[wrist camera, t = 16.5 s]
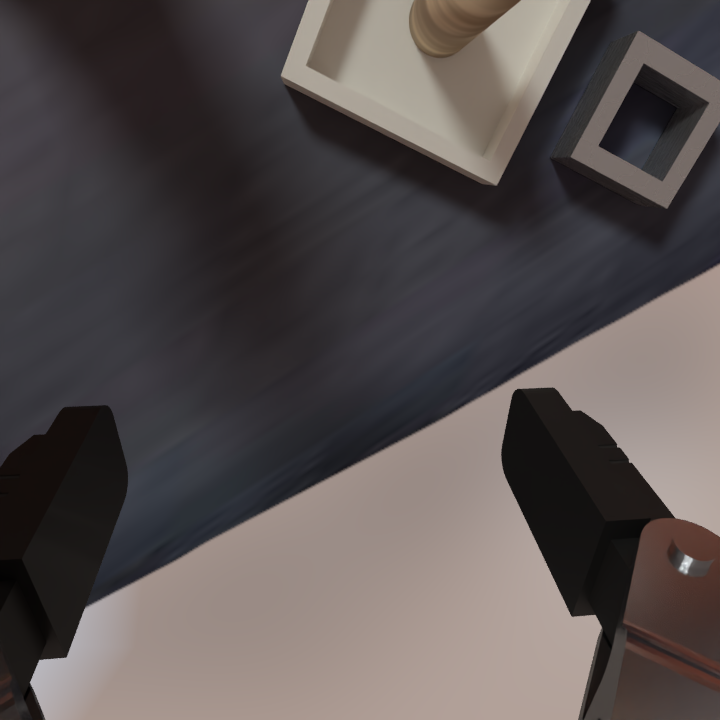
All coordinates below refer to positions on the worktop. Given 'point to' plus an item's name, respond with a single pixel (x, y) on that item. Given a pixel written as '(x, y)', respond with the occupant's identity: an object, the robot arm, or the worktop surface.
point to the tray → (433, 76)
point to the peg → (452, 23)
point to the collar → (677, 143)
